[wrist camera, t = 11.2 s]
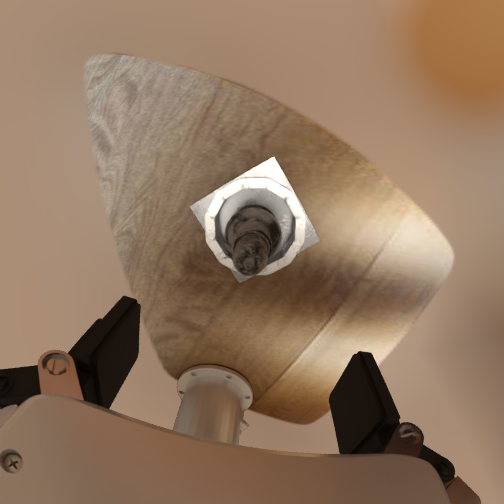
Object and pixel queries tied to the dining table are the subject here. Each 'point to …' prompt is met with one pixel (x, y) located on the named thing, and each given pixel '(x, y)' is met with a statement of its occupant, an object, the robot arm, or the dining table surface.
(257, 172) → the hub plate
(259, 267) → the salt shaker
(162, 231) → the dining table surface
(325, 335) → the dining table surface
